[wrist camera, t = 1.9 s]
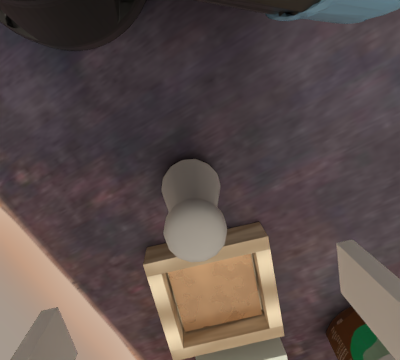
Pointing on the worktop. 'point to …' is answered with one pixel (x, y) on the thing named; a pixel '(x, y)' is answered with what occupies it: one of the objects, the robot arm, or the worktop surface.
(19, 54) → the worktop surface
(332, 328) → the food container
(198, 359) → the bin
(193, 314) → the plate
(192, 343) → the beige square tray
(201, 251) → the salt shaker
